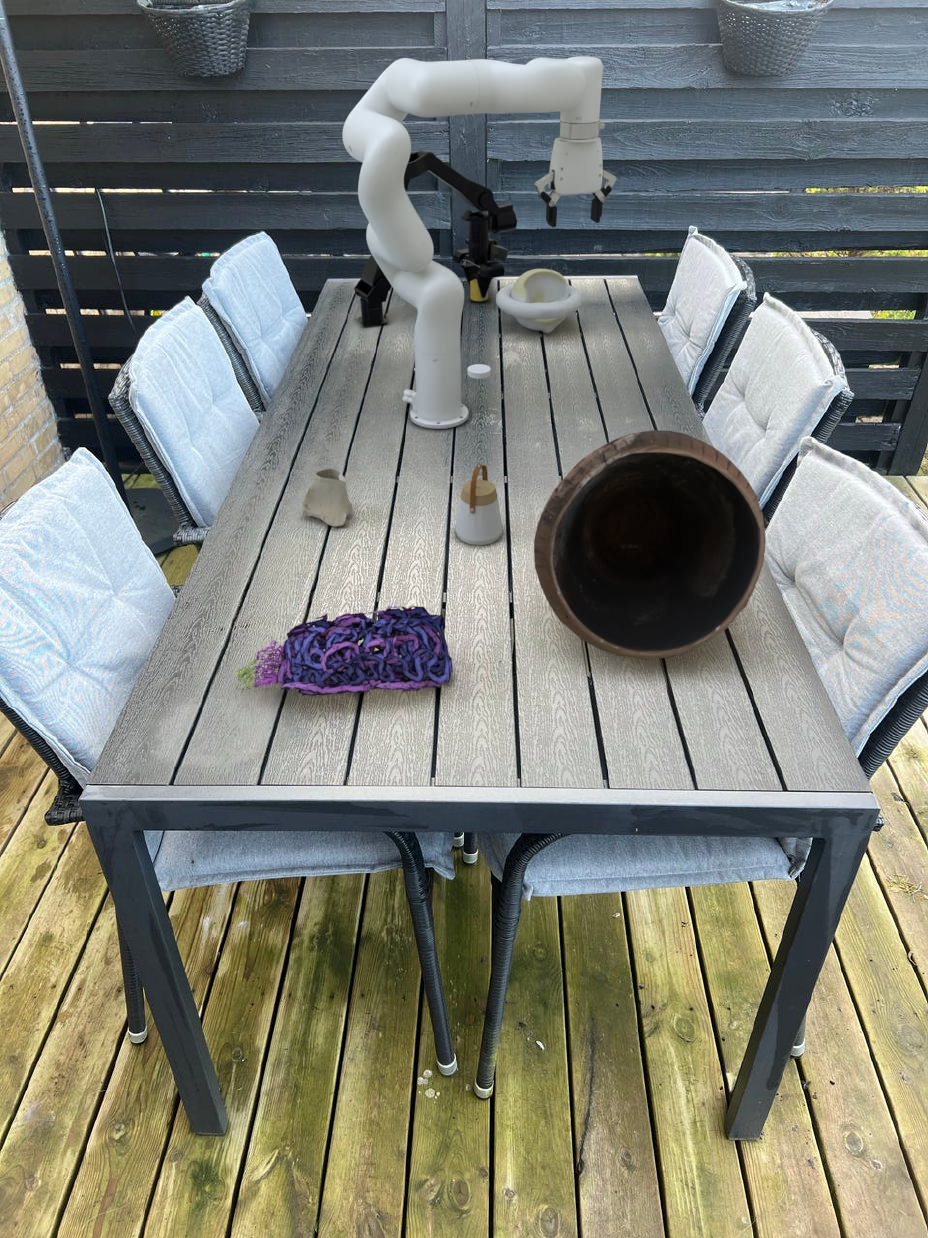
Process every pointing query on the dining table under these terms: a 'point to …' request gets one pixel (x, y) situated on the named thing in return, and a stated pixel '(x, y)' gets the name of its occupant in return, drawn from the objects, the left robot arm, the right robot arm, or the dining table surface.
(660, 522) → the pot
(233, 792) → the dining table surface
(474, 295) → the tin
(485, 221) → the left robot arm
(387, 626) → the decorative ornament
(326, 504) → the beige irregular piece
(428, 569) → the dining table surface
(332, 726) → the dining table surface
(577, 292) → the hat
